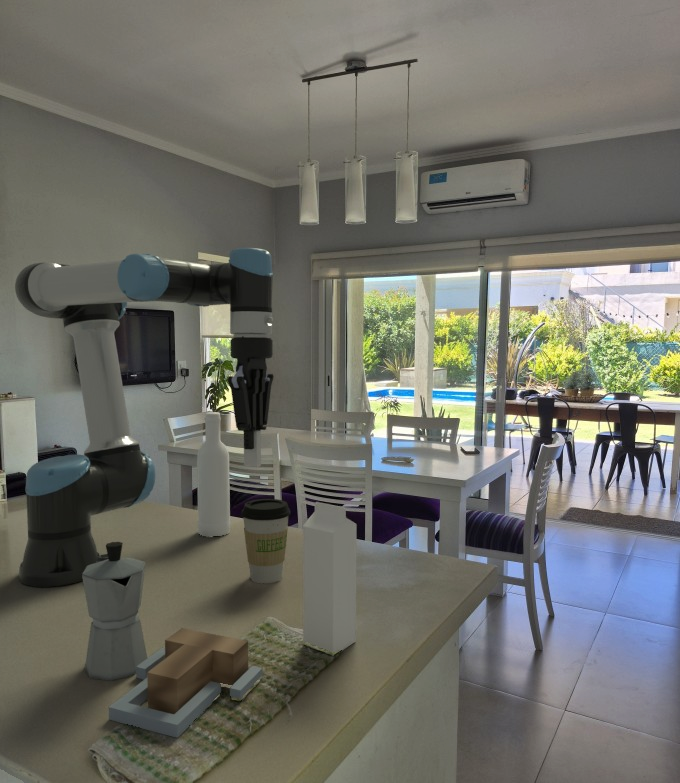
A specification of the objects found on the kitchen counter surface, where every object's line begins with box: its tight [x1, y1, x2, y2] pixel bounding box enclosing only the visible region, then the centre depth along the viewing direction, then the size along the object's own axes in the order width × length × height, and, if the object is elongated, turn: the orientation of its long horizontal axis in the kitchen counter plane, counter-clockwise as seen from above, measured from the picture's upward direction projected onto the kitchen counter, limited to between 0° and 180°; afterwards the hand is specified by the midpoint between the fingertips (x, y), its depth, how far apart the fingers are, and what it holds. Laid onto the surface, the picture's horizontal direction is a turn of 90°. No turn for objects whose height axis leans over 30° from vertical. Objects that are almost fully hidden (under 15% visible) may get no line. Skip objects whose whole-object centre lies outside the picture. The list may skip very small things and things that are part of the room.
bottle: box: [196, 411, 231, 537], centre depth 152 cm, size 8×8×30 cm
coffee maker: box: [82, 541, 148, 682], centre depth 90 cm, size 15×9×18 cm, turn 33°
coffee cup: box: [240, 498, 291, 585], centre depth 123 cm, size 10×10×15 cm
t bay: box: [108, 646, 263, 739], centre depth 81 cm, size 17×15×2 cm
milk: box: [302, 501, 357, 653], centre depth 95 cm, size 6×6×22 cm
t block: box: [147, 627, 249, 714], centre depth 83 cm, size 11×12×5 cm
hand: (252, 465), depth 112 cm, fingers closed
